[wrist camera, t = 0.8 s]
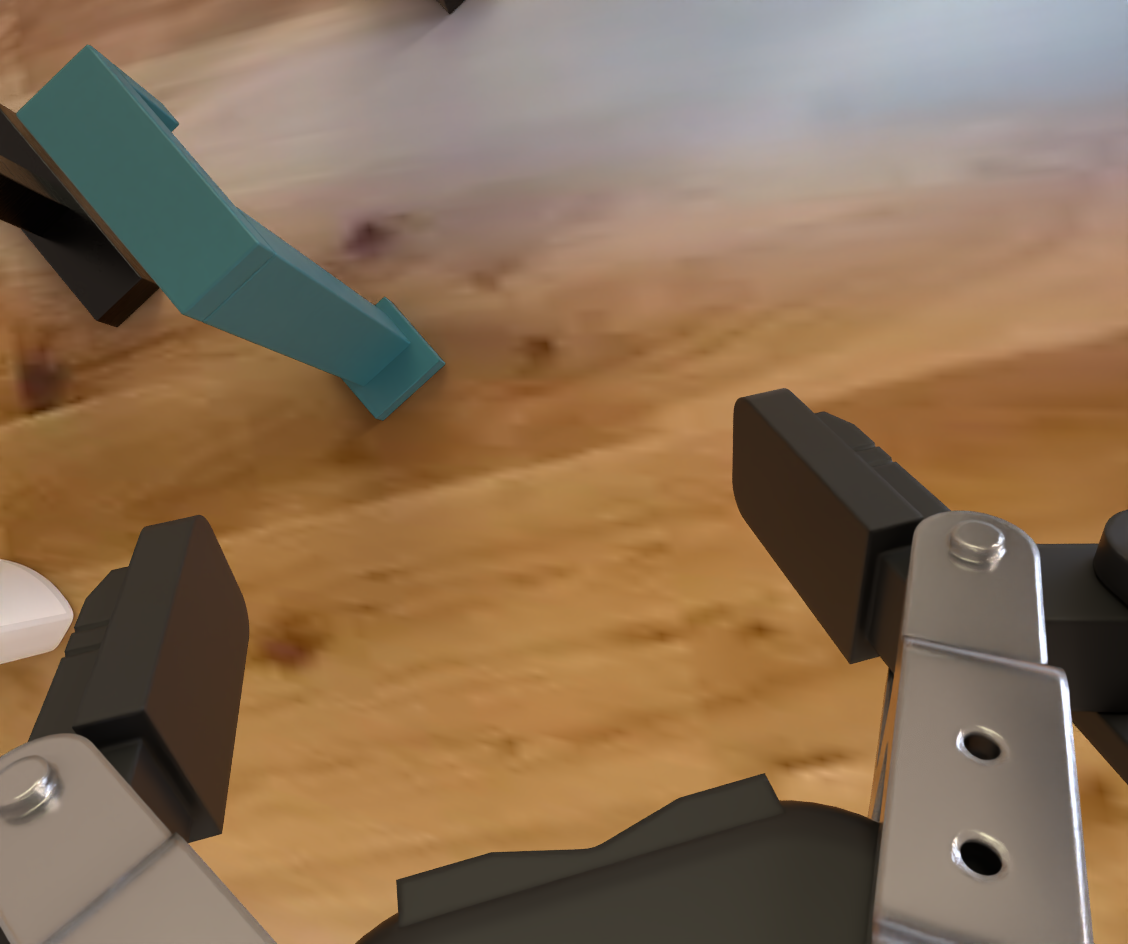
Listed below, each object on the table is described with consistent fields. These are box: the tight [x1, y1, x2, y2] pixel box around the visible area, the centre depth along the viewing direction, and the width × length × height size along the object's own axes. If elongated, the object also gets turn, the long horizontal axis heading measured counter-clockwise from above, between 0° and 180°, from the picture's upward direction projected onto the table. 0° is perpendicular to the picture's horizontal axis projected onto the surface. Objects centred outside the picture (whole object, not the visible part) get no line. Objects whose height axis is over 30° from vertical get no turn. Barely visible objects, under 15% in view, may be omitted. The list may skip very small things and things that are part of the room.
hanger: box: [16, 45, 445, 421], centre depth 29 cm, size 10×4×15 cm, turn 41°
